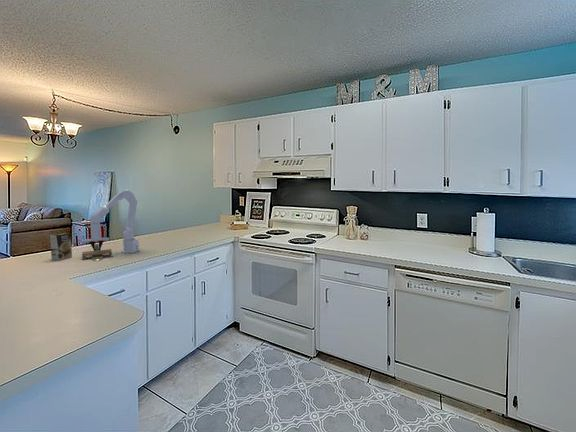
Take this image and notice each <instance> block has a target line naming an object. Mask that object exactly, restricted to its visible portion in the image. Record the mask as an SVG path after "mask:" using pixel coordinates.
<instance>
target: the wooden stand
mask: <svg viewBox="0 0 576 432" xmlns="http://www.w3.org/2000/svg"><path fill="white" fill-rule="evenodd" d="M98 254H103V255H106V254H107V255H108V257H109V258H111V257H112V255H113V252H112V249H111V248H109V249H100V250H97V251H94V250H89V251H82V253H81V256H82V260H83V261H85V260H86V258H87V256H88V257H89V256H92V255H98Z"/></svg>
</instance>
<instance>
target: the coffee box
mask: <svg viewBox="0 0 576 432" xmlns="http://www.w3.org/2000/svg"><path fill="white" fill-rule="evenodd" d="M71 236H72V235H71V232H61V233H54V234H49V239H50V240H49V241H50V253H51V260H53V261H62V260H67V259H69V258H73V251H72V237H71Z"/></svg>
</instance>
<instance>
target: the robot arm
mask: <svg viewBox="0 0 576 432" xmlns="http://www.w3.org/2000/svg"><path fill="white" fill-rule="evenodd" d="M123 199H125V200H126V201H127V202H128V203H129V206H128V211H127V217H126V225H125V229H124V231H122V232H123V233H122V235H123V239H122V246H123V247H122V248H123V250H122V251H121V253H124V254H127V253H128V254H133V253H137V252H139V251H141V249H140V242H139V240H138V239H135V232H134V226H135V218H136V212H137V207H138V206H137V205H138V201H137V198H136V196H135V194H134V193H133V192H132V191H131V190H130V189H126V188H124V189H121V191H119V192H118V193H117V194H115V196H113V197H112V198H111V200H109V202H107V203H106V205H102V206H99V207H98V209H97V210H96V211H95V212H93V214H92V215H90V218H89V221H90V222H89V224H90V238H88V239H85V238H84V239H82V240H83V244H86V243H89V244H90V246H91V248H92V249H93V250H92V251H95V244H96V243H97V242H98V244H99V250H102V245H103V244H104V242H110V238H109V237H102V229H101V228H102V226H101V219H103V218H104V217H105V216H107V214H108V213H110V209H111V208H112V207H113V206H114V205H115V204H116V203H117V202H118V201H121V200H123ZM95 242H96V243H95Z"/></svg>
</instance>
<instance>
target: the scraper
mask: <svg viewBox="0 0 576 432" xmlns="http://www.w3.org/2000/svg"><path fill="white" fill-rule="evenodd" d="M97 250H99V243H95V251H97ZM96 258H102V260H103V259H104V254H98V255H91V260H92V261H93V259H96Z"/></svg>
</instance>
